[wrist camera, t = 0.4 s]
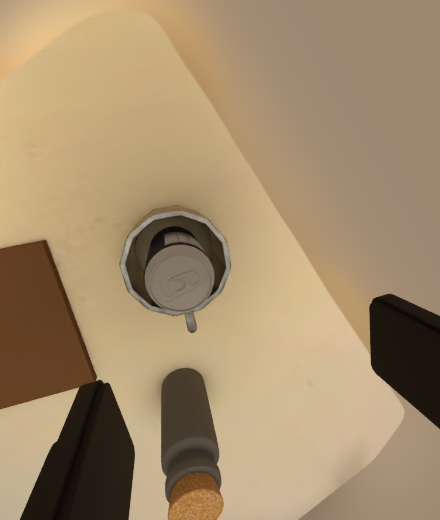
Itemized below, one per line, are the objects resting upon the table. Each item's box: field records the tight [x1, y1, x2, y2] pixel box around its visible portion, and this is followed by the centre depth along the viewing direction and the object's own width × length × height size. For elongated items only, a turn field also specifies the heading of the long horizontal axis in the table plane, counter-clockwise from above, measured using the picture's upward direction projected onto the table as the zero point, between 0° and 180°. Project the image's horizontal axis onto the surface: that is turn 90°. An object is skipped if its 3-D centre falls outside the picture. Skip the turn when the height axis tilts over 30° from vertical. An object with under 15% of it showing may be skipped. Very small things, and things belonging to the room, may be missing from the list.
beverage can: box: [144, 227, 215, 313], centre depth 26 cm, size 6×6×12 cm
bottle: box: [161, 369, 224, 520], centre depth 29 cm, size 6×6×15 cm
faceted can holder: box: [120, 206, 231, 333], centre depth 29 cm, size 13×10×7 cm
